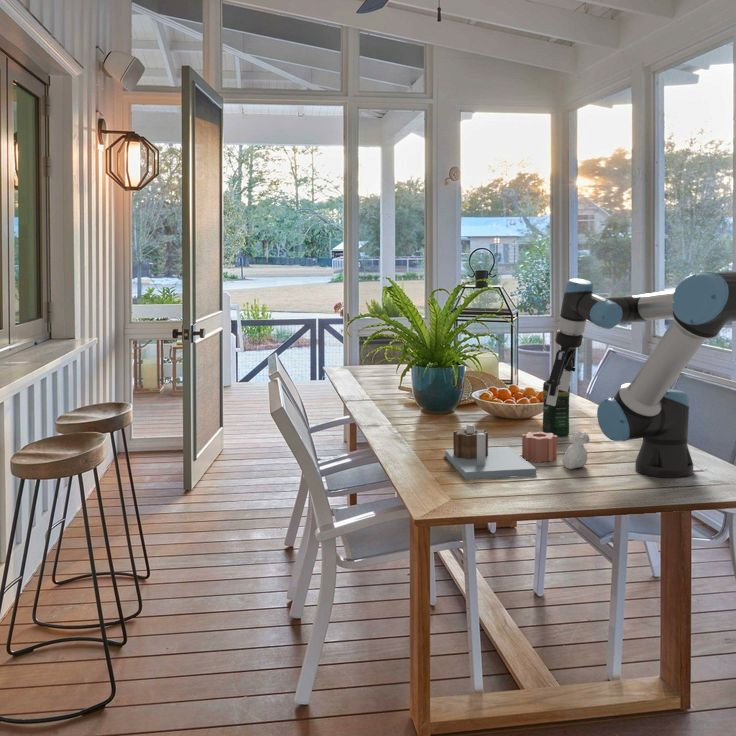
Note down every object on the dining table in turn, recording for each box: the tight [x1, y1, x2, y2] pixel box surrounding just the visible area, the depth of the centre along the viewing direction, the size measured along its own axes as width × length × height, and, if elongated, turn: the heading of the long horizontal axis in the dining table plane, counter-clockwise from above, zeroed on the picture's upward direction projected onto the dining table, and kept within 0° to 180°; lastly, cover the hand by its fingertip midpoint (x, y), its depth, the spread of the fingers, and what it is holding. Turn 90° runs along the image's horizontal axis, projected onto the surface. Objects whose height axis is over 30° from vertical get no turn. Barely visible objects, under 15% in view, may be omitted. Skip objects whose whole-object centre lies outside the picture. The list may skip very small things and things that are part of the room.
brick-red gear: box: [521, 431, 558, 463], centre depth 236 cm, size 10×10×7 cm
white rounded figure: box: [561, 430, 591, 470], centre depth 226 cm, size 12×8×11 cm
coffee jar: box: [542, 379, 571, 438], centre depth 267 cm, size 10×8×19 cm
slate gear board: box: [444, 424, 537, 480], centre depth 229 cm, size 26×20×11 cm
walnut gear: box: [452, 428, 489, 459], centre depth 234 cm, size 10×10×7 cm
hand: (557, 397), depth 240 cm, fingers open, 13 cm apart
